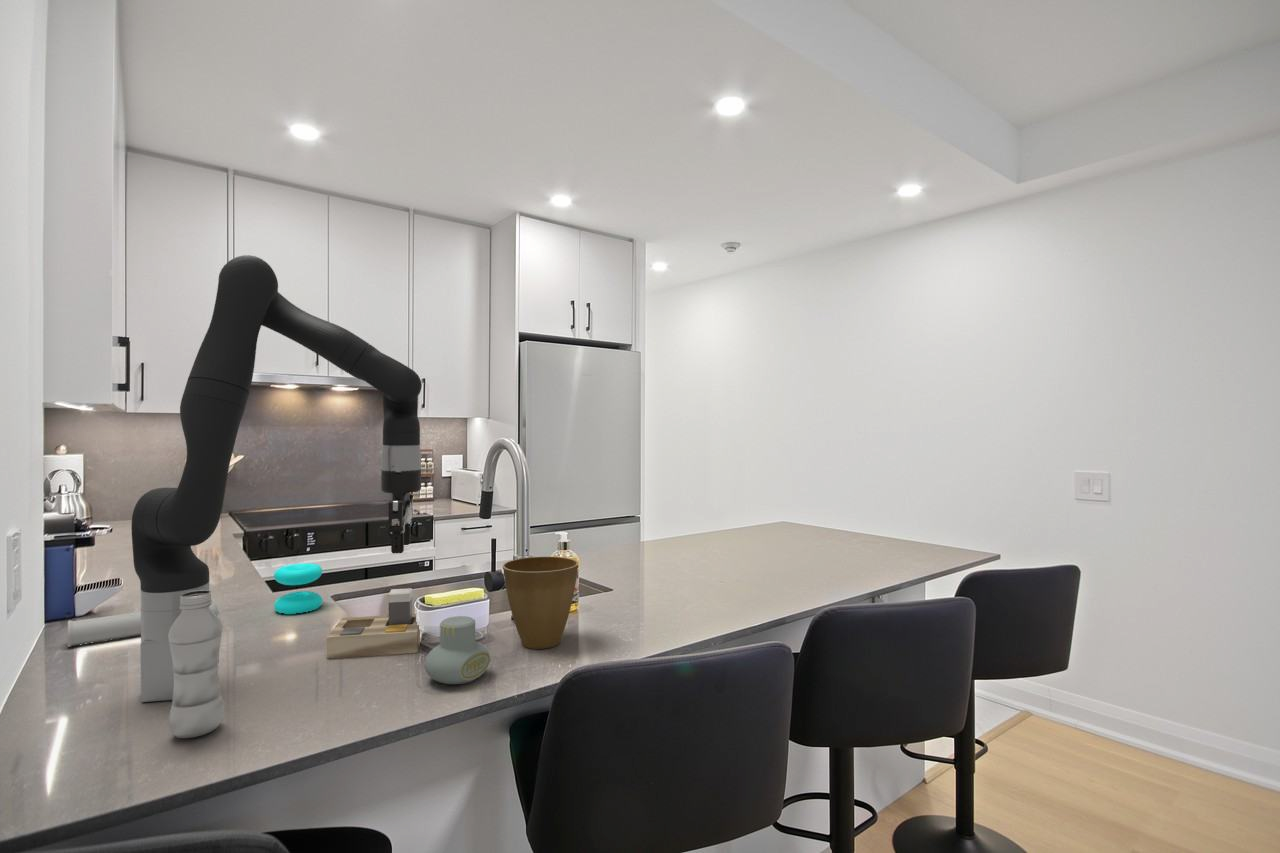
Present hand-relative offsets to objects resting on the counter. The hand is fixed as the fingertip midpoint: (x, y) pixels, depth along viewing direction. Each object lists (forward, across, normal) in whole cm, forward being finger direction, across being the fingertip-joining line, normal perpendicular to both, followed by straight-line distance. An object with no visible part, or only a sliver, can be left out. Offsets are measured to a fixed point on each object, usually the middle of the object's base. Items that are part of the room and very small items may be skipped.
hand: (401, 548), depth 131 cm
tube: (+19, -15, -52) cm, 58 cm away
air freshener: (+19, +21, +13) cm, 31 cm away
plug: (+19, -1, 0) cm, 19 cm away
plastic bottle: (+19, +34, -22) cm, 45 cm away
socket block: (+19, +1, -4) cm, 19 cm away
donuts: (+19, -28, -27) cm, 43 cm away
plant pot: (+19, +6, +28) cm, 34 cm away
